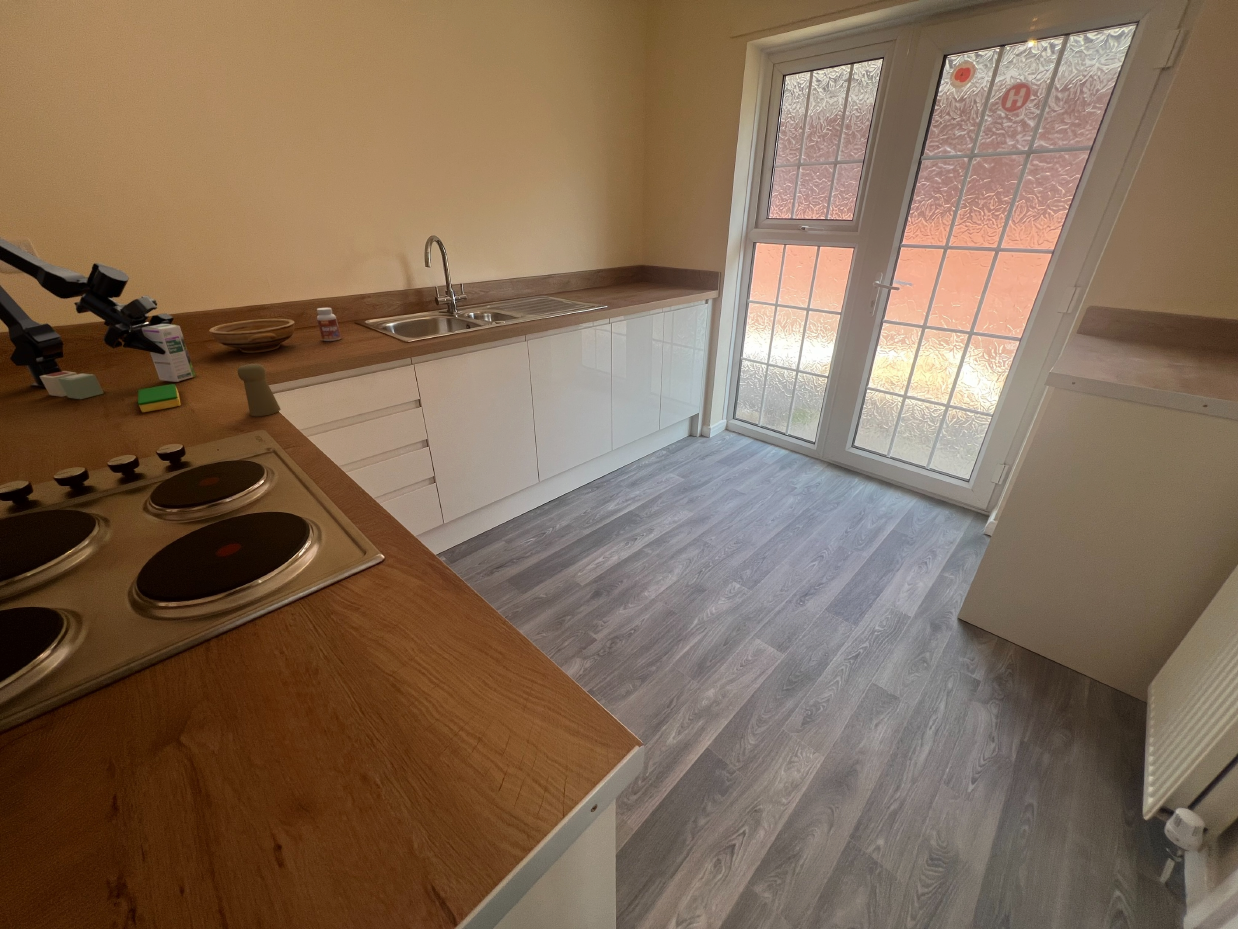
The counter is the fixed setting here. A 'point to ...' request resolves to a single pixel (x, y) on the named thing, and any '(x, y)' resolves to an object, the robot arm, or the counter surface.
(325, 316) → the pill bottle
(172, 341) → the syrup box
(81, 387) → the sage letter block
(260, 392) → the sage salt shaker
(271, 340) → the wooden bowl
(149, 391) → the dish sponge
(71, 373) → the cream letter block
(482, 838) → the counter surface
